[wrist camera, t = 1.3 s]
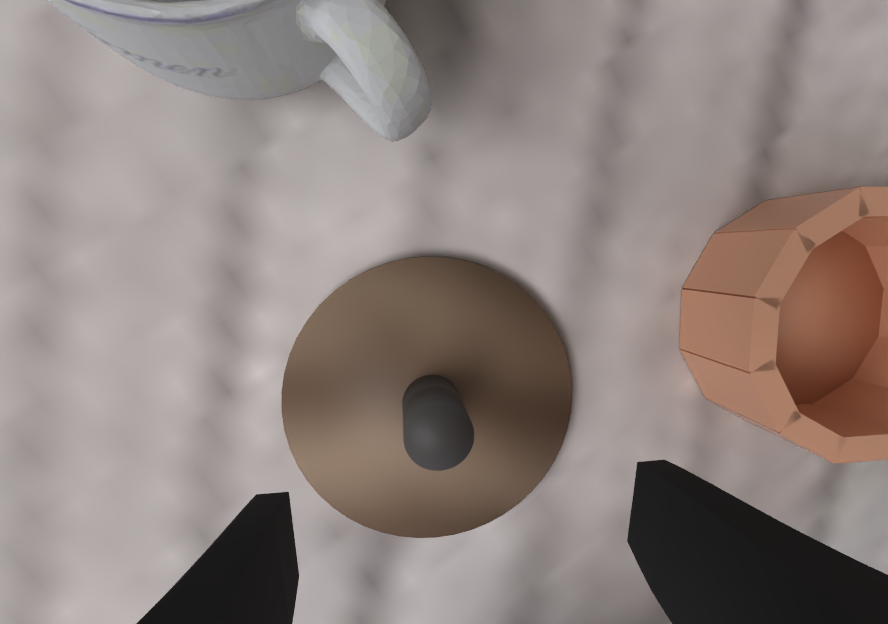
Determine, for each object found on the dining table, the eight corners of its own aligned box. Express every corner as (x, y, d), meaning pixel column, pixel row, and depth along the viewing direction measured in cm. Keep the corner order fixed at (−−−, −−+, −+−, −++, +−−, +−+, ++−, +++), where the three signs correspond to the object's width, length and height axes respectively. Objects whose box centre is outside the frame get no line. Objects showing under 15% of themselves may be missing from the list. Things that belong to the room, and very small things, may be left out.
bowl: (875, 414, 21) (983, 451, 17) (675, 428, 20) (742, 471, 16) (898, 197, 20) (1020, 184, 16) (685, 201, 19) (760, 188, 15)
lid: (563, 514, 21) (606, 582, 17) (296, 538, 20) (269, 616, 15) (566, 252, 19) (614, 252, 15) (275, 260, 18) (238, 262, 14)
